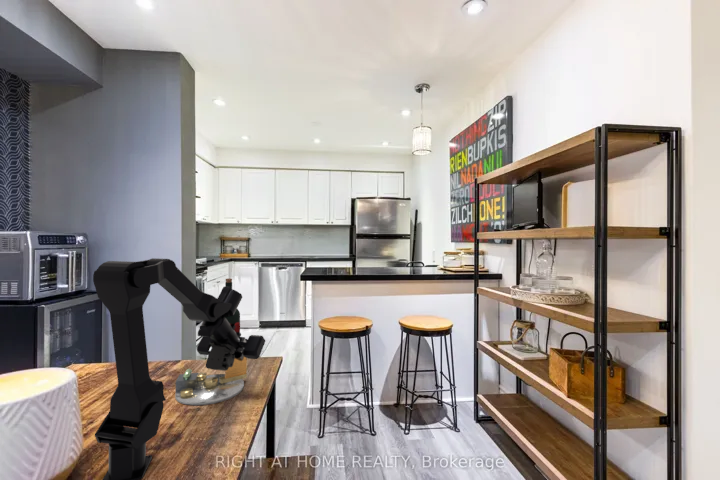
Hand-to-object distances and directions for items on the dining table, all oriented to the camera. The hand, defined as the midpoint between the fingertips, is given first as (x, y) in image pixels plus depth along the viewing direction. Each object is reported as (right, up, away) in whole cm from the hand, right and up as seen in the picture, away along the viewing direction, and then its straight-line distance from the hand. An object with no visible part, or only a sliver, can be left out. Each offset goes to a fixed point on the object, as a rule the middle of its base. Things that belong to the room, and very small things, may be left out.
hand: (242, 359), depth 99 cm
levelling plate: (-8, -7, -4) cm, 11 cm away
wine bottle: (-9, -8, +14) cm, 19 cm away
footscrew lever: (-4, -6, -2) cm, 8 cm away
